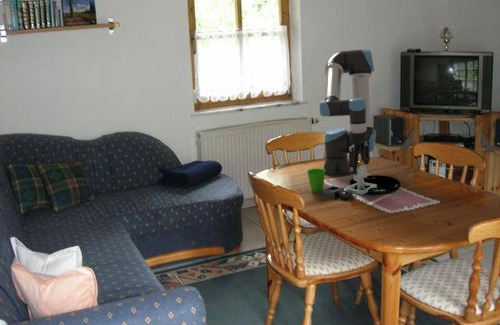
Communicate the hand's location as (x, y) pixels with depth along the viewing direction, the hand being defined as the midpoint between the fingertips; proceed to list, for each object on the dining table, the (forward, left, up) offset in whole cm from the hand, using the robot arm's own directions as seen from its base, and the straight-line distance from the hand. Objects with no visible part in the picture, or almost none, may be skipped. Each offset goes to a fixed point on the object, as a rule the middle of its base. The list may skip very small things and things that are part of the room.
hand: (360, 178), depth 284 cm
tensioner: (+13, -3, -6) cm, 15 cm away
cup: (+13, -17, -7) cm, 22 cm away
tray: (0, 0, -6) cm, 6 cm away
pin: (0, 0, -6) cm, 6 cm away
